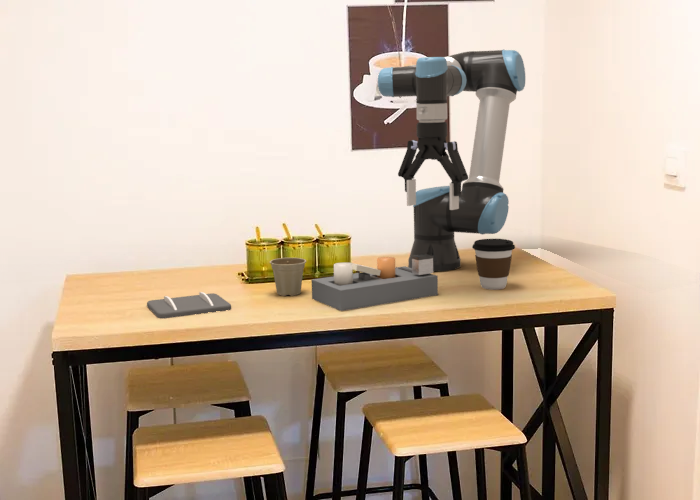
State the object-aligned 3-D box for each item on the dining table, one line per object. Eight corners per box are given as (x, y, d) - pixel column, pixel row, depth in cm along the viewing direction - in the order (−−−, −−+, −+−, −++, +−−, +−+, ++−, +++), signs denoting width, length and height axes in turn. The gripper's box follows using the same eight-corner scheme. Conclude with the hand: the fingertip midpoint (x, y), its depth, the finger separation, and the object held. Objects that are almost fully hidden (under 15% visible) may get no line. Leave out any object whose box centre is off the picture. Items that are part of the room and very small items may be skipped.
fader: (411, 273, 233) (411, 255, 232) (426, 270, 235) (426, 253, 234) (418, 275, 230) (418, 257, 229) (433, 272, 232) (433, 255, 232)
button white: (331, 287, 228) (330, 263, 227) (347, 285, 230) (346, 261, 229) (340, 291, 224) (339, 266, 223) (356, 288, 226) (355, 264, 225)
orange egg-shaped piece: (374, 281, 234) (373, 258, 233) (389, 278, 236) (389, 256, 235) (383, 284, 230) (383, 260, 229) (399, 282, 232) (398, 258, 231)
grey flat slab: (215, 287, 236) (232, 299, 222) (216, 299, 237) (233, 311, 223) (145, 294, 229) (158, 307, 215) (146, 307, 230) (159, 321, 216)
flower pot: (312, 290, 241) (311, 258, 240) (299, 298, 232) (298, 265, 231) (279, 288, 244) (278, 256, 243) (265, 296, 235) (263, 263, 234)
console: (312, 298, 232) (311, 274, 230) (405, 284, 245) (404, 261, 244) (341, 310, 219) (340, 284, 218) (437, 295, 232) (437, 270, 231)
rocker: (347, 267, 229) (348, 262, 229) (370, 272, 233) (371, 267, 233) (356, 270, 225) (357, 264, 225) (379, 275, 229) (380, 270, 229)
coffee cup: (519, 284, 242) (519, 239, 240) (508, 293, 233) (508, 246, 230) (479, 281, 247) (479, 237, 245) (466, 290, 237) (466, 244, 235)
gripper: (383, 121, 231) (384, 205, 235) (463, 122, 214) (463, 212, 218) (402, 120, 236) (404, 202, 240) (482, 121, 219) (482, 209, 223)
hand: (432, 207), depth 229 cm, fingers open, 13 cm apart
